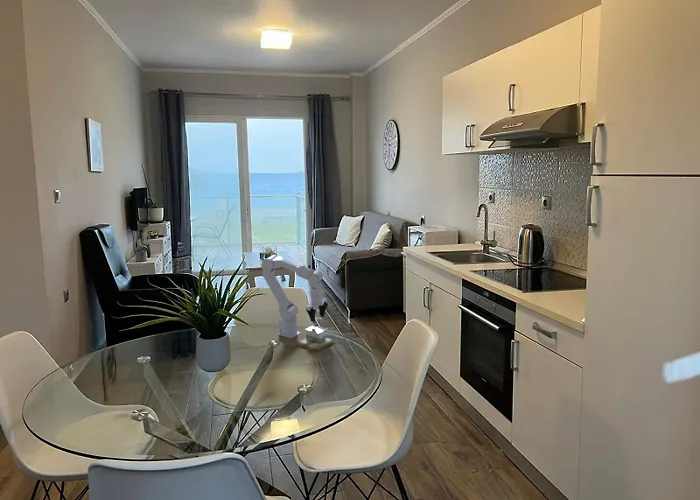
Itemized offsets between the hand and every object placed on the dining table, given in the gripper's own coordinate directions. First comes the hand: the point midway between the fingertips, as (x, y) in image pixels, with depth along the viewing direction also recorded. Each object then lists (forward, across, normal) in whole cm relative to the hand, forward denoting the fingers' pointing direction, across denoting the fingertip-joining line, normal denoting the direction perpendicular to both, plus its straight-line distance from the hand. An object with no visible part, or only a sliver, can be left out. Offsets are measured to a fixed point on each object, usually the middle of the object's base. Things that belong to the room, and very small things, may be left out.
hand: (317, 318), depth 267 cm
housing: (+8, -7, -4) cm, 12 cm away
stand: (+10, -7, -4) cm, 13 cm away
